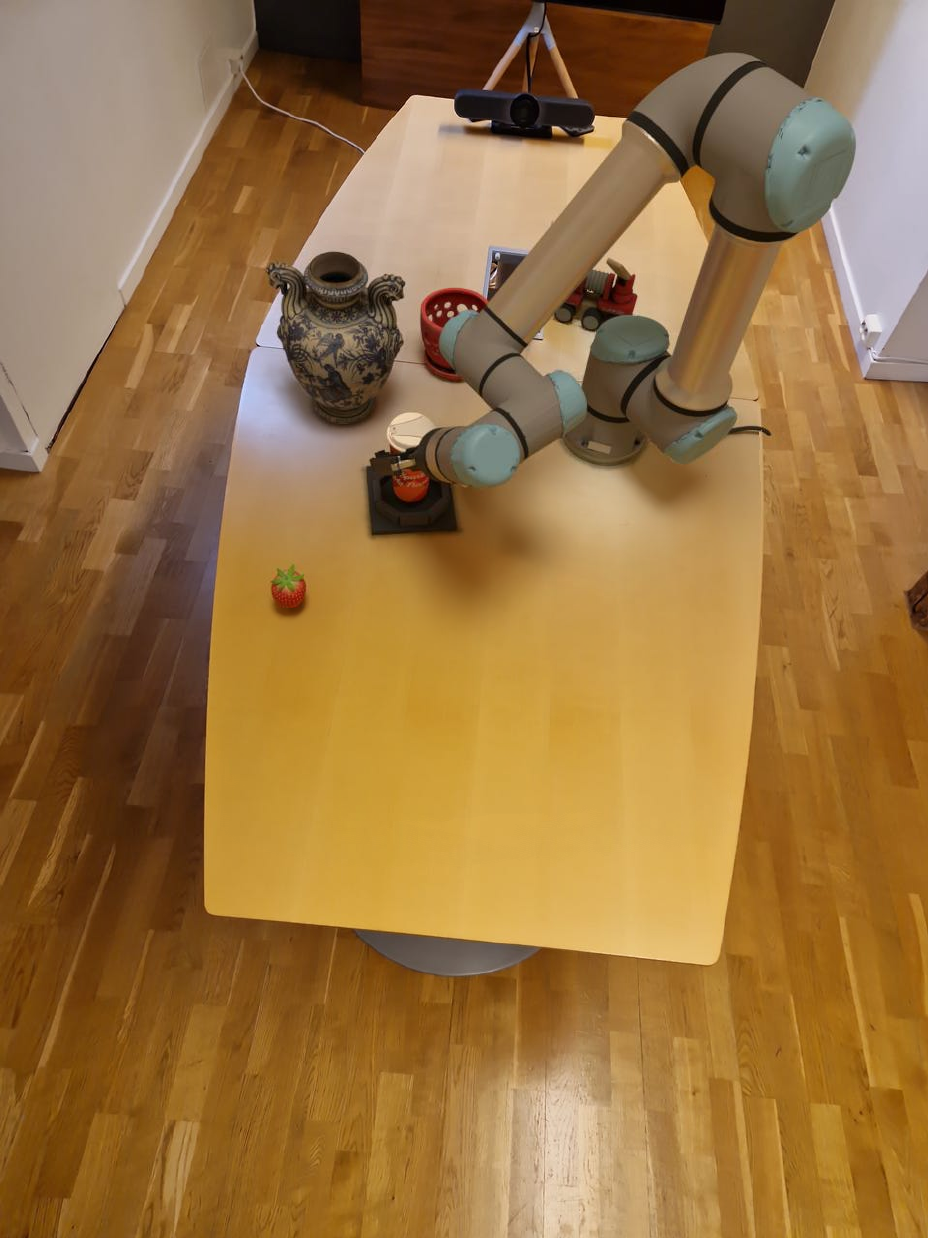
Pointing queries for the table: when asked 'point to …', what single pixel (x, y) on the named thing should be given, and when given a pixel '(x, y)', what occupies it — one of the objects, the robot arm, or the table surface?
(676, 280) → the table surface
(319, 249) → the table surface
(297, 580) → the fruit
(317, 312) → the decorative vase
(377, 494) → the pad
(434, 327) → the plant pot
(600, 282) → the toy fire truck
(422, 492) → the paper cup
